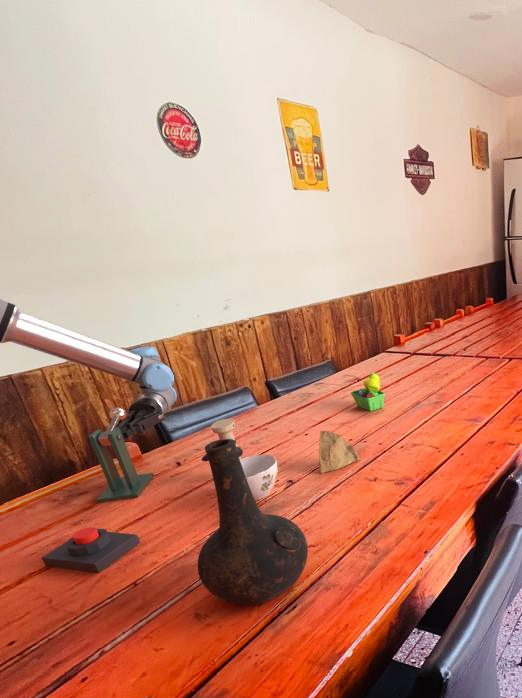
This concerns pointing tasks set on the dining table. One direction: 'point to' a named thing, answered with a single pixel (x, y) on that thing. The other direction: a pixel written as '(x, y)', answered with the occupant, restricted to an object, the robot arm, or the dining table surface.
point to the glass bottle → (247, 538)
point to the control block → (92, 552)
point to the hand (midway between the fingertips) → (115, 440)
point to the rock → (335, 452)
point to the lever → (112, 425)
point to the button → (85, 536)
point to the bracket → (118, 485)
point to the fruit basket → (369, 394)
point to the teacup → (260, 474)
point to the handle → (224, 429)
